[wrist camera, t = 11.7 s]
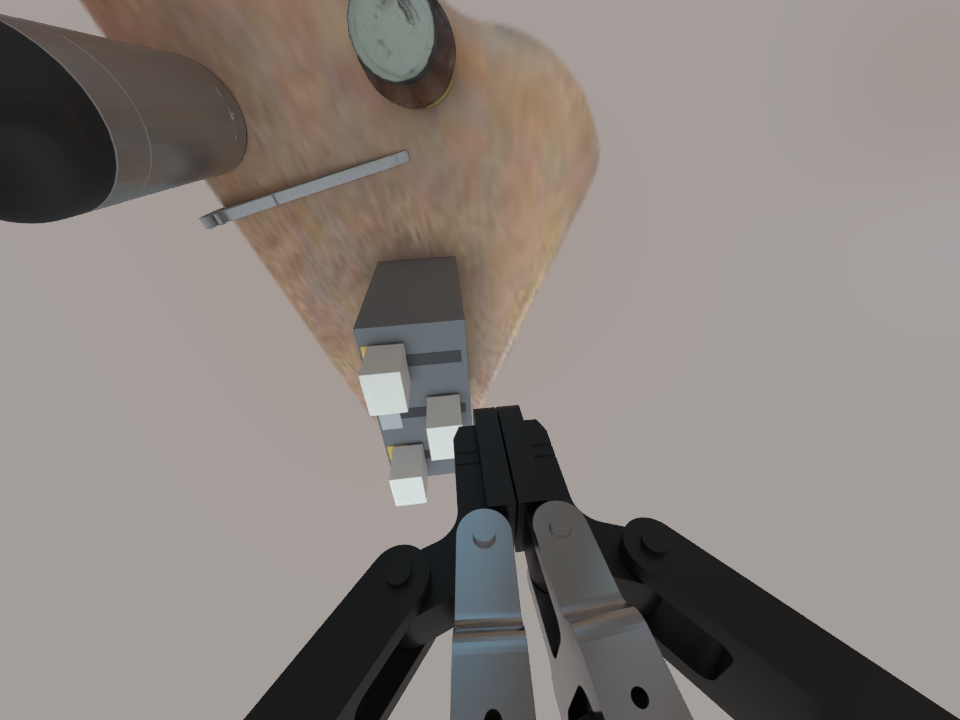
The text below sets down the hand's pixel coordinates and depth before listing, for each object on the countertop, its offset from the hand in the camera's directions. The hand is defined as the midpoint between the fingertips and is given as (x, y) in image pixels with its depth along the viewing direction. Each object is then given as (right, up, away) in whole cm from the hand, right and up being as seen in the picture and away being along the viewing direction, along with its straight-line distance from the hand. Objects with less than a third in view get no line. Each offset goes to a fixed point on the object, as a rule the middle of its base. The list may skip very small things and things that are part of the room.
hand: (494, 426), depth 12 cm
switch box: (-8, +6, +36) cm, 37 cm away
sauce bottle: (-6, +29, +21) cm, 36 cm away
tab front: (-8, +2, +19) cm, 21 cm away
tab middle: (-4, -3, +22) cm, 23 cm away
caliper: (-18, +20, +25) cm, 37 cm away
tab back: (-8, -8, +26) cm, 28 cm away
